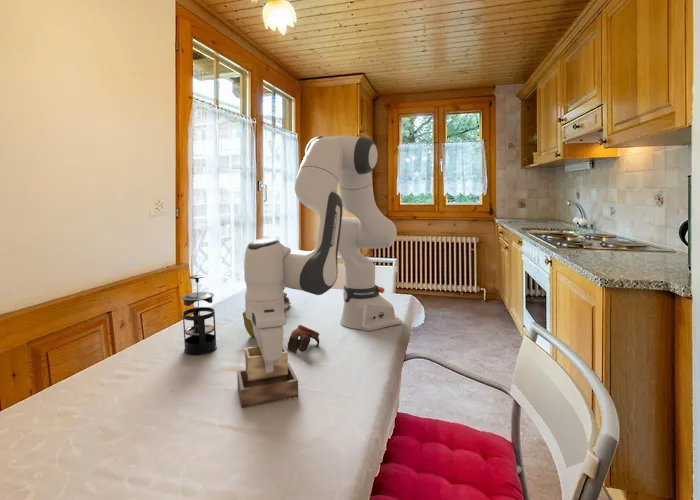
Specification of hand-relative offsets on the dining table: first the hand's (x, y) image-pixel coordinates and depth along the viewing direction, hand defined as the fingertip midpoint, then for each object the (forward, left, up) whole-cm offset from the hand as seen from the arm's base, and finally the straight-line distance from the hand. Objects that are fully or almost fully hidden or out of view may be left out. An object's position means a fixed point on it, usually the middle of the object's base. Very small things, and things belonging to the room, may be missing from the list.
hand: (266, 364), depth 91 cm
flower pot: (-4, -38, -7) cm, 39 cm away
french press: (+15, -33, -7) cm, 37 cm away
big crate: (0, 0, -7) cm, 7 cm away
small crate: (0, 0, -2) cm, 2 cm away
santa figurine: (-14, -70, -7) cm, 72 cm away
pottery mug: (-15, -22, -7) cm, 27 cm away
